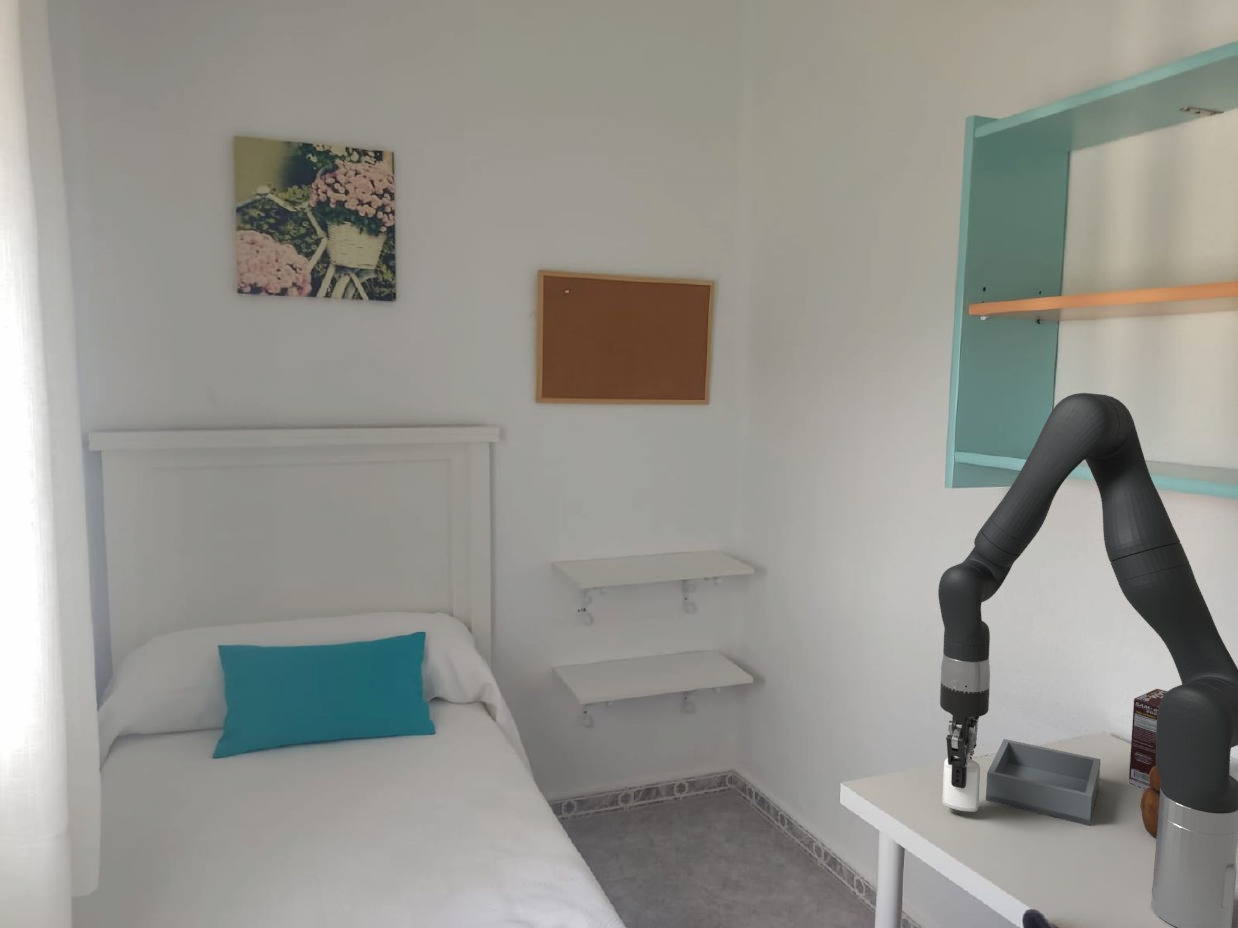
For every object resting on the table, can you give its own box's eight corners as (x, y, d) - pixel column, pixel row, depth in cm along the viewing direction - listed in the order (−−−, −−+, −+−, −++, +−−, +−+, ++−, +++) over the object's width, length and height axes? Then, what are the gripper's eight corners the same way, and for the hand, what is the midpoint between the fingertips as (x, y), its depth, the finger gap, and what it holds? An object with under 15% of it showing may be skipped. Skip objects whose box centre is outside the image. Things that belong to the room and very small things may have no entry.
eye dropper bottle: (967, 816, 149) (970, 746, 147) (937, 803, 153) (940, 734, 152) (983, 809, 151) (986, 739, 150) (953, 796, 156) (956, 728, 154)
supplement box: (1150, 769, 168) (1156, 687, 166) (1178, 780, 164) (1185, 695, 162) (1126, 782, 163) (1132, 697, 161) (1154, 793, 159) (1161, 706, 157)
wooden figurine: (1190, 847, 142) (1197, 756, 140) (1149, 844, 143) (1156, 753, 141) (1173, 825, 149) (1180, 738, 147) (1134, 822, 150) (1140, 735, 148)
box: (1098, 785, 162) (1100, 759, 161) (1089, 825, 149) (1091, 796, 148) (1002, 764, 171) (1003, 738, 170) (985, 800, 157) (987, 772, 157)
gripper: (980, 699, 142) (976, 805, 144) (997, 672, 154) (993, 770, 156) (931, 690, 146) (927, 793, 148) (950, 665, 158) (947, 760, 160)
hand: (961, 780), depth 152 cm, fingers closed on eye dropper bottle, 3 cm apart
